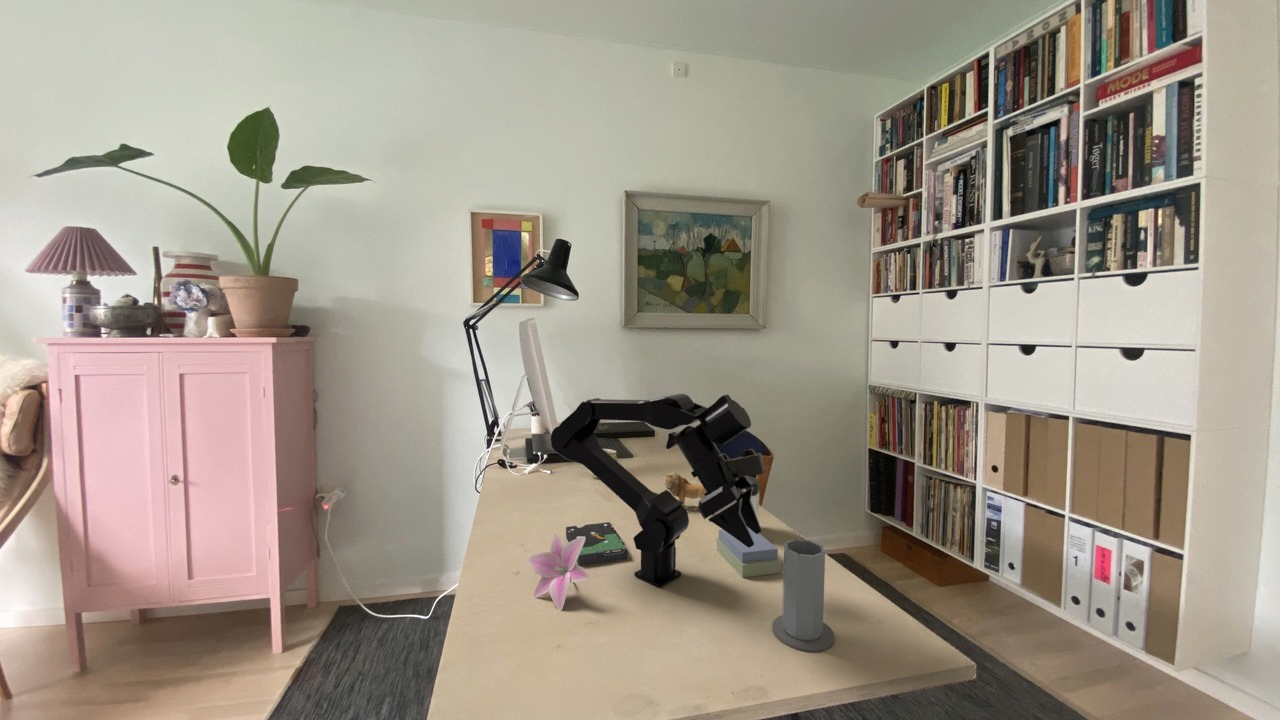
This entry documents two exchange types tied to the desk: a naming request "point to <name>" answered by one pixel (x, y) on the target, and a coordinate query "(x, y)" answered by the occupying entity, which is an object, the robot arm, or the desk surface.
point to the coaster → (814, 646)
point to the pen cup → (803, 589)
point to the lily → (558, 569)
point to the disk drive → (598, 543)
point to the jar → (755, 495)
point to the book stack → (749, 555)
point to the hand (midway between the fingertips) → (755, 539)
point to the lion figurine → (683, 488)
